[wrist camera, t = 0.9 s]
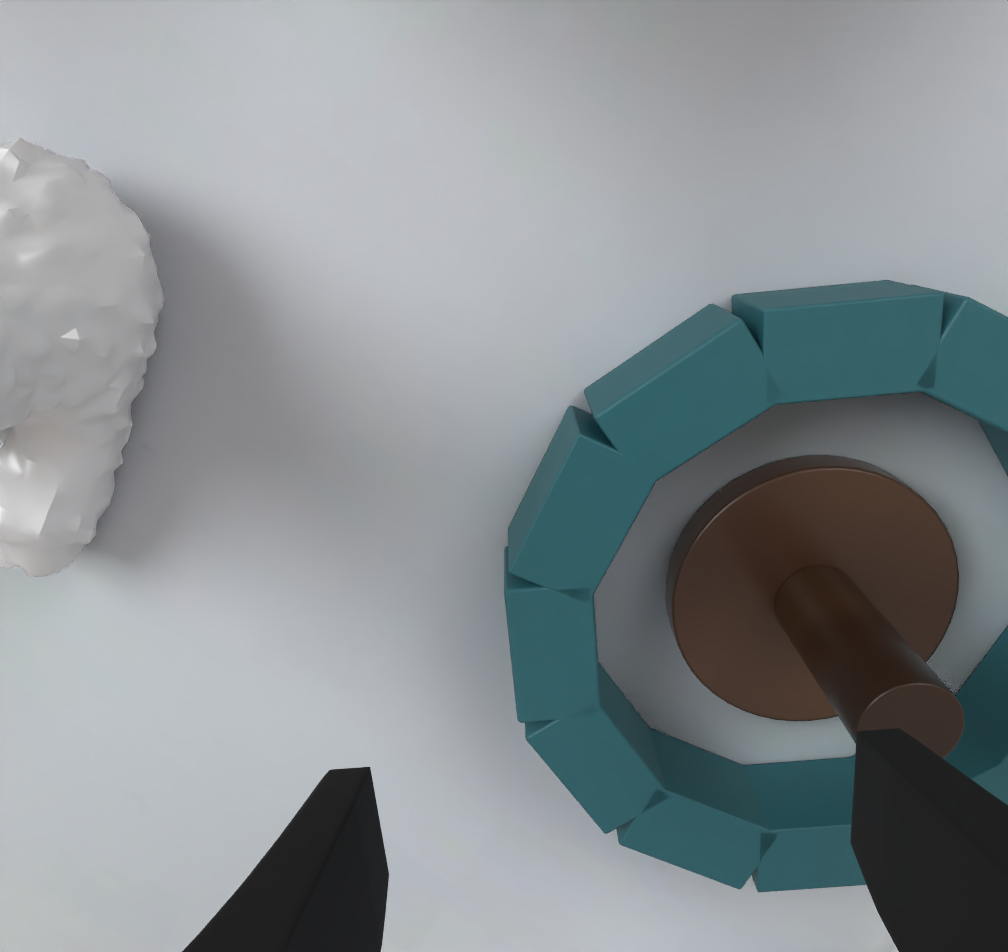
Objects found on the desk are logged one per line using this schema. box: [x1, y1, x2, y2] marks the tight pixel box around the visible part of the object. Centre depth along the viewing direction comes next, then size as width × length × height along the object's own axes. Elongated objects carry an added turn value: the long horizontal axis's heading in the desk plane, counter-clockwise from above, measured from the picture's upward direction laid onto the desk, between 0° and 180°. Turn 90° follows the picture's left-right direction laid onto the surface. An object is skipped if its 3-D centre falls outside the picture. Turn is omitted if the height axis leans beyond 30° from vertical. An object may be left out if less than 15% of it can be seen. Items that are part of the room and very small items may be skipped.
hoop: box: [504, 280, 1008, 892], centre depth 20 cm, size 15×15×2 cm
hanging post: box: [665, 455, 965, 758], centre depth 18 cm, size 7×7×6 cm
